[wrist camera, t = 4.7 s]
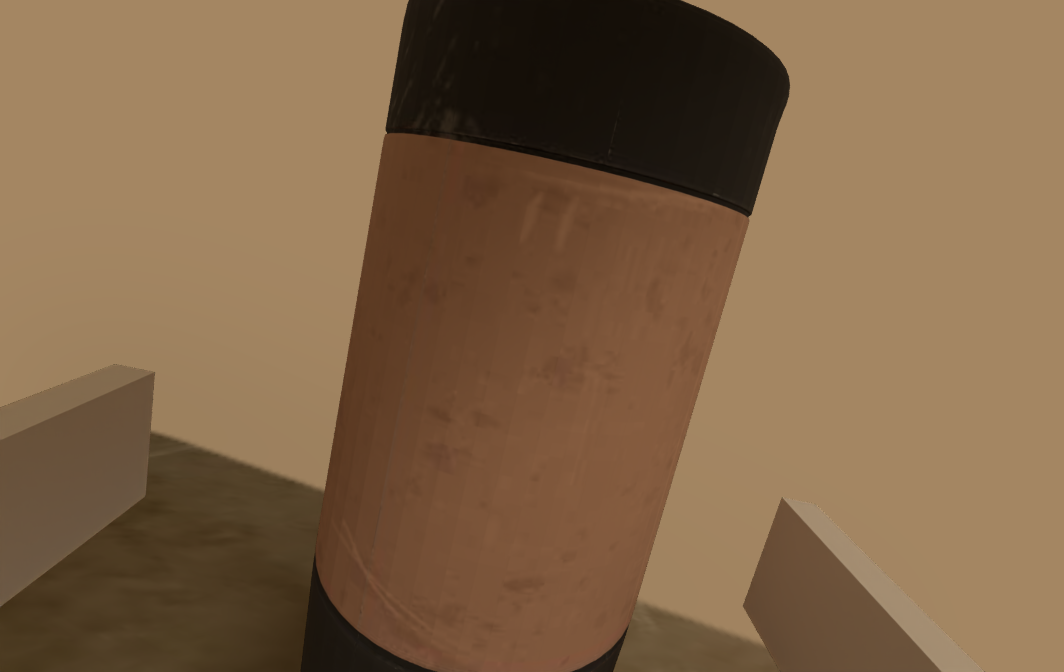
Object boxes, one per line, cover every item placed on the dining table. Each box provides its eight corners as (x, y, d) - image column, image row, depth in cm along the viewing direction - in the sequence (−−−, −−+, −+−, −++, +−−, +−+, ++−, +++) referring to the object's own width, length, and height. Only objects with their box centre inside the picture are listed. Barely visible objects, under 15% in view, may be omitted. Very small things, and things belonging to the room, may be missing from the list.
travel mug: (246, 749, 16) (347, 9, 12) (472, 667, 20) (605, 115, 16) (308, 1124, 10) (564, -110, 6) (607, 890, 14) (875, 111, 10)
